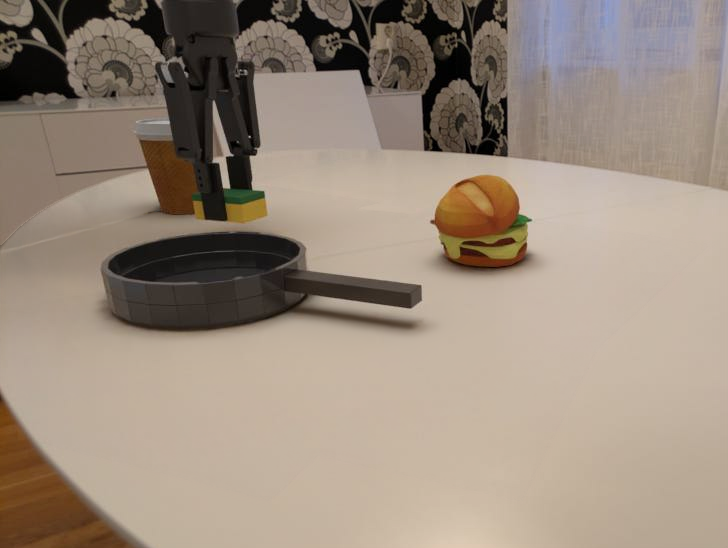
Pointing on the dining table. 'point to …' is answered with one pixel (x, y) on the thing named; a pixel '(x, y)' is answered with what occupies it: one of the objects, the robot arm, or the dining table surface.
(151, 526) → the dining table surface
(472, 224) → the cheeseburger
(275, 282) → the pan
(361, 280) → the pan handle
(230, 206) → the sponge
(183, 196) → the disposable coffee cup
